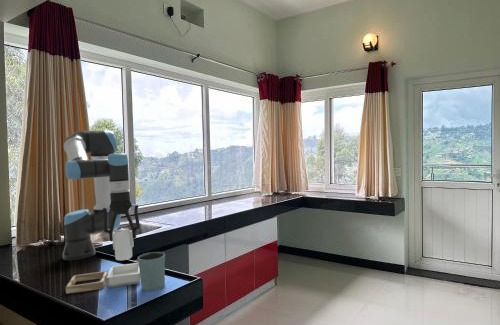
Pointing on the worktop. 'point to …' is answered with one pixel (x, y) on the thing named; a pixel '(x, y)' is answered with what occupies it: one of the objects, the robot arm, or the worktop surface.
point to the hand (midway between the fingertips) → (123, 247)
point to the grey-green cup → (152, 270)
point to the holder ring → (89, 286)
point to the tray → (123, 275)
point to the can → (122, 244)
